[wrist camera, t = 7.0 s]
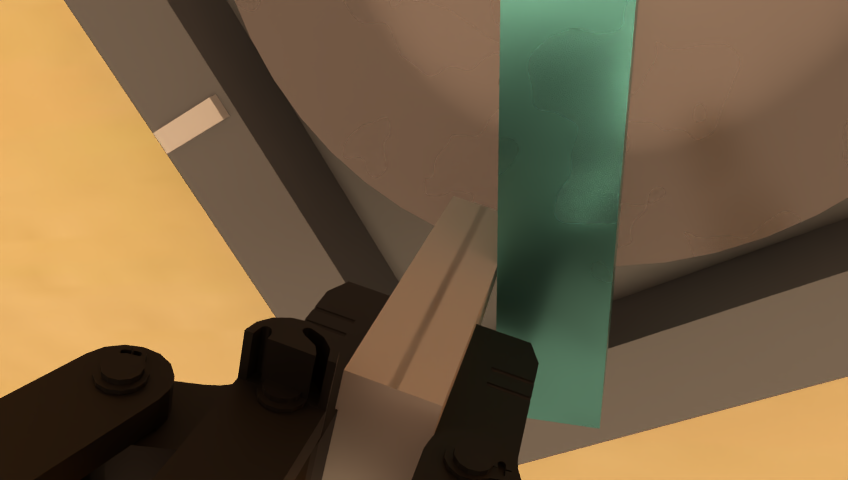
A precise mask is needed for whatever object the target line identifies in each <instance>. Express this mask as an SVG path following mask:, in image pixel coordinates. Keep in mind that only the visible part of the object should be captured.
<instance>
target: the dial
mask: <svg viewBox="0 0 848 480" xmlns="http://www.w3.org/2000/svg"><path fill="white" fill-rule="evenodd" d="M235 3H236V5H237V7H238V10H239V12H240V14H241V17H242V19H243V22H244V24H245V26H246V29H247V31H248V33H249V36H250V38H251V40H252V42H253V43H254V45H255V47H256V49H257V51H258V52H259V54H260V56H261V58H262V60H263V61H264V63H265V65H266V67H267V69H268V70H269V72H270V74H271V76H272V78H273V79H274V81H275V82H276V84H277V85H278V86H279V88H280V89H281V91H282V92H283V94H284V95H285V96H286V98H287V99H288V101H289V102H290V103H291V105H292V106H293V108H294V109H295V110H296V112H297V113H298V115H299V116H300V117H301V119H302V120H303V121H304V122H305V123H306V124H307V125H308V127H309V128H310V129H311V130H312V131H313V132H314V133H315V134H316V135H317V137H318V138H319V139H320V140H321V141H322V142H323V143H324V144H325V146H326V147H327V148H328V149H329V150H330V151H331V152H332V153H333V154H334V155H335V156H336V157H337V158H339V159H340V160H341V161H342V162H343V163H344V164H345V165H346V166H347V167H349V168H350V169H351V170H352V171H353V172H354V173H355V174H356V175H358V176H359V177H360V178H361V179H362V180H363V181H364V182H366V183H367V184H368V185H370V186H371V187H373V188H374V189H375V190H377V191H378V192H380V193H381V194H383V195H384V196H385V197H387V198H388V199H390V200H391V201H392V202H394V203H395V204H397V205H398V206H400V207H401V208H403V209H405V210H406V211H408V212H410V213H412V214H414V215H416V216H417V217H419V218H421V219H423V220H425V221H427V222H428V223H430V224H432V225H434V226H435V224H436V223H437V221H438V220H439V218H440V216H441V215H442V213H443V212H444V210H445V208H446V207H447V205H448V204H449V202H450V200H451V199H452V197H453V196H455V197H458V198H461V199H464V200H467V201H470V202H473V203H476V204H479V205H483V206H486V207H488V208H492V209H495V210H498V229H497V310H496V331H498V332H501V333H504V334H507V335H510V336H513V337H515V338H518V339H521V340H524V341H527V342H530V343H531V344H532V347H533V350H534V352H535V355H536V357H537V360H538V362H539V365H538V369H537V374H536V378H535V383H534V388H533V392H532V397H531V400H530V406H529V411H528V415H527V418H530V419H537V420H544V421H551V422H557V423H564V424H571V425H577V426H584V427H591V428H598V429H600V421H601V411H602V402H603V392H604V383H605V373H606V364H607V354H608V345H609V335H610V326H611V314H612V303H613V291H614V280H615V268H616V266H625V265H638V264H651V263H664V262H671V261H676V260H681V259H686V258H691V257H696V256H702V255H707V254H712V253H717V252H720V251H723V250H727V249H730V248H733V247H736V246H739V245H743V244H746V243H749V242H752V241H755V240H759V239H762V238H765V237H768V236H770V235H773V234H775V233H777V232H779V231H782V230H784V229H786V228H789V227H791V226H793V225H795V224H798V223H800V222H802V221H805V220H807V219H809V218H811V217H814V216H816V215H818V214H820V213H822V212H823V211H825V210H827V209H829V208H830V207H832V206H834V205H836V204H837V203H839V202H841V201H843V200H844V199H846V198H848V0H235Z"/></svg>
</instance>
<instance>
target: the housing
mask: <svg viewBox="0 0 848 480" xmlns="http://www.w3.org/2000/svg"><path fill="white" fill-rule="evenodd" d="M64 1H65V3H66V4H67V6H68V7H69V9H70V10H71V12H72V13H73V15H74V16H75V17H76V19H77V20H78V22H79V23H80V25H81V26H82V28H83V29H84V31H85V32H86V34H87V35H88V37H89V38H90V40H91V41H92V43H93V44H94V46H95V47H96V49H97V50H98V52H99V53H100V55H101V56H102V58H103V59H104V61H105V62H106V64H107V65H108V67H109V68H110V70H111V71H112V73H113V74H114V76H115V77H116V79H117V80H118V82H119V83H120V85H121V86H122V88H123V89H124V91H125V92H126V94H127V95H128V97H129V98H130V100H131V101H132V103H133V104H134V106H135V107H136V109H137V110H138V112H139V113H140V115H141V116H142V118H143V119H144V121H145V122H146V124H147V125H148V127H149V128H150V130H151V131H152V133H153V134H154V136H155V137H156V139H157V140H158V142H159V143H160V145H161V146H162V148H163V149H164V151H165V152H166V154H167V155H168V157H169V158H170V160H171V161H172V163H173V164H174V166H175V167H176V169H177V170H178V172H179V173H180V175H181V176H182V178H183V179H184V181H185V182H186V184H187V185H188V186H189V188H190V189H191V191H192V192H193V194H194V195H195V197H196V198H197V200H198V201H199V203H200V204H201V206H202V207H203V209H204V210H205V212H206V213H207V215H208V216H209V218H210V219H211V221H212V222H213V224H214V225H215V227H216V228H217V230H218V231H219V233H220V234H221V236H222V237H223V239H224V240H225V242H226V243H227V245H228V246H229V248H230V249H231V251H232V252H233V254H234V255H235V257H236V258H237V260H238V261H239V263H240V264H241V266H242V267H243V269H244V270H245V272H246V273H247V275H248V276H249V278H250V279H251V281H252V282H253V284H254V285H255V287H256V288H257V290H258V291H259V293H260V294H261V296H262V297H263V299H264V300H265V302H266V303H267V305H268V306H269V308H270V309H271V311H272V312H273V314H274V315H275V317H276V318H296V319H300V320H304V321H305V318H306V317H307V316H308V315H309V313H310V312H311V311H312V310H313V309H314V308H315V306H316V305H317V303H318V302H319V301H320V300H321V298H322V297H323V296H324V295H325V293H326V292H327V291H328V290H331V289H333V288H335V287H337V286H340V285H342V284H344V283H346V282H348V281H349V282H352V283H355V284H358V285H360V286H363V287H366V288H369V289H372V290H375V291H378V292H381V293H383V294H386V295H389V296H391V294H392V293H393V291H394V289H395V288H396V286H397V285H398V283H399V282H400V280H401V278H402V277H403V275H404V274H405V272H406V270H407V269H408V267H409V266H410V264H411V262H412V261H413V259H414V258H415V256H416V254H417V253H418V251H419V250H420V248H421V247H422V245H423V243H424V242H425V240H426V239H427V237H428V235H429V234H430V232H431V231H432V229H433V227H434V225H432V224H430V223H428V222H427V221H425V220H423V219H421V218H419V217H417V216H416V215H414V214H412V213H410V212H408V211H406V210H405V209H403V208H401V207H400V206H398V205H397V204H395V203H394V202H392V201H391V200H390V199H388V198H387V197H385V196H384V195H383V194H381V193H380V192H378V191H377V190H375V189H374V188H373V187H371V186H370V185H368V184H367V183H366V182H364V181H363V180H362V179H361V178H360V177H359V176H358V175H356V174H355V173H354V172H353V171H352V170H351V169H350V168H349V167H347V166H346V165H345V164H344V163H343V162H342V161H341V160H340V159H339V158H337V157H336V156H335V155H334V154H333V153H332V152H331V151H330V150H329V149H328V148H327V147H326V146H325V144H324V143H323V142H322V141H321V140H320V139H319V138H318V137H317V135H316V134H315V133H314V132H313V131H312V130H311V129H310V128H309V127H308V125H307V124H306V123H305V122H304V121H303V120H302V119H301V117H300V116H299V115H298V113H297V112H296V110H295V109H294V108H293V106H292V105H291V103H290V102H289V101H288V99H287V98H286V96H285V95H284V94H283V92H282V91H281V89H280V88H279V86H278V85H277V84H276V82H275V81H274V79H273V78H272V76H271V74H270V72H269V70H268V69H267V67H266V65H265V63H264V61H263V60H262V58H261V56H260V54H259V52H258V51H257V49H256V47H255V45H254V43H253V42H252V40H251V38H250V36H249V33H248V31H247V29H246V26H245V24H244V22H243V19H242V17H241V14H240V12H239V10H238V7H237V5H236V3H235V0H64ZM496 310H497V277H496V280H495V283H494V287H493V290H492V293H491V296H490V299H489V302H488V305H487V308H486V311H485V314H484V317H483V320H482V324H481V326H484V327H487V328H490V329H492V330H495V331H496ZM844 377H848V198H846V199H844V200H843V201H841V202H839V203H837V204H836V205H834V206H832V207H830V208H829V209H827V210H825V211H823V212H822V213H820V214H818V215H816V216H814V217H811V218H809V219H807V220H805V221H802V222H800V223H798V224H795V225H793V226H791V227H789V228H786V229H784V230H782V231H779V232H777V233H775V234H773V235H770V236H768V237H765V238H762V239H759V240H755V241H752V242H749V243H746V244H743V245H739V246H736V247H733V248H730V249H727V250H723V251H720V252H717V253H712V254H707V255H702V256H696V257H691V258H686V259H681V260H676V261H671V262H664V263H651V264H638V265H625V266H616V268H615V280H614V291H613V303H612V314H611V326H610V335H609V345H608V354H607V364H606V373H605V383H604V392H603V402H602V411H601V421H600V429H598V428H591V427H584V426H577V425H571V424H564V423H557V422H551V421H544V420H537V419H530V418H527V420H526V424H525V429H524V433H523V438H522V443H521V447H520V452H519V456H518V465H520V464H523V463H527V462H531V461H535V460H538V459H542V458H546V457H550V456H553V455H557V454H561V453H564V452H568V451H572V450H576V449H579V448H583V447H587V446H591V445H594V444H598V443H602V442H605V441H609V440H613V439H617V438H620V437H624V436H628V435H632V434H635V433H639V432H643V431H646V430H650V429H654V428H658V427H661V426H665V425H669V424H673V423H676V422H680V421H684V420H687V419H691V418H695V417H699V416H702V415H706V414H710V413H714V412H717V411H721V410H725V409H728V408H732V407H736V406H740V405H743V404H747V403H751V402H755V401H758V400H762V399H766V398H769V397H773V396H777V395H781V394H784V393H788V392H792V391H795V390H799V389H803V388H807V387H810V386H814V385H818V384H822V383H825V382H829V381H833V380H836V379H840V378H844Z"/></svg>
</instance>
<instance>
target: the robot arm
mask: <svg viewBox="0 0 848 480" xmlns="http://www.w3.org/2000/svg"><path fill="white" fill-rule="evenodd" d="M497 229H498V210H495V209H492V208H488V207H486V206H483V205H479V204H476V203H473V202H470V201H467V200H464V199H461V198H458V197H455V196H453V197H452V199H451V200H450V202H449V204H448V205H447V207H446V208H445V210H444V212H443V213H442V215H441V216H440V218H439V220H438V221H437V223H436V224H435V226H434V227H433V229H432V231H431V232H430V234H429V235H428V237H427V239H426V240H425V242H424V243H423V245H422V247H421V248H420V250H419V251H418V253H417V254H416V256H415V258H414V259H413V261H412V262H411V264H410V266H409V267H408V269H407V270H406V272H405V274H404V275H403V277H402V278H401V280H400V282H399V283H398V285H397V286H396V288H395V289H394V291H393V293H392V294H391V296H389V295H386V294H383V293H381V292H378V291H375V290H372V289H369V288H366V287H363V286H360V285H358V284H355V283H352V282H349V281H348V282H346V283H344V284H342V285H340V286H337V287H335V288H333V289H331V290H328V291H327V292H326V293H325V295H324V296H323V297H322V298H321V300H320V301H319V302H318V303H317V305H316V306H315V308H314V309H313V310H312V311H311V312H310V313H309V315H308V316H307V317H306V318H305V321H304V320H300V319H296V318H270V319H266V320H262V321H258V322H256V323H254V324H253V325H251V326H250V327H248V328H247V329H246V330H245V332H244V339H243V346H242V353H241V360H240V366H239V373H238V378H237V380H236V381H235V382H234V383H233V384H230V385H222V386H218V385H202V384H193V383H185V382H177V381H174V373H173V370H172V366H171V364H170V363H169V362H168V361H167V360H166V359H165V358H164V357H163V356H162V355H161V354H159V353H157V352H154V351H152V350H149V349H147V348H144V347H138V346H130V345H119V346H108V347H103V348H100V349H98V350H95V351H92V352H89V353H86V354H85V355H83V356H81V357H79V358H77V359H75V360H73V361H71V362H69V363H67V364H65V365H63V366H61V367H60V368H58V369H56V370H54V371H52V372H50V373H48V374H46V375H44V376H42V377H40V378H38V379H36V380H35V381H33V382H31V383H29V384H27V385H25V386H23V387H21V388H19V389H17V390H15V391H13V392H11V393H10V394H8V395H6V396H4V397H2V398H0V480H521V478H520V474H519V471H518V456H519V452H520V447H521V443H522V438H523V433H524V429H525V424H526V420H527V415H528V411H529V406H530V400H531V397H532V392H533V388H534V383H535V378H536V374H537V369H538V365H539V362H538V360H537V357H536V355H535V352H534V350H533V347H532V344H531V343H530V342H527V341H524V340H521V339H518V338H515V337H513V336H510V335H507V334H504V333H501V332H498V331H495V330H492V329H490V328H487V327H484V326H481V324H482V320H483V317H484V314H485V311H486V308H487V305H488V302H489V299H490V296H491V293H492V290H493V287H494V283H495V280H496V277H497Z"/></svg>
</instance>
